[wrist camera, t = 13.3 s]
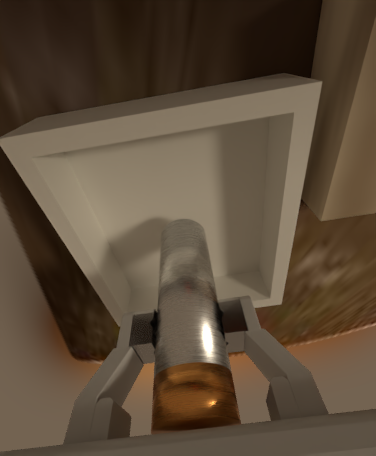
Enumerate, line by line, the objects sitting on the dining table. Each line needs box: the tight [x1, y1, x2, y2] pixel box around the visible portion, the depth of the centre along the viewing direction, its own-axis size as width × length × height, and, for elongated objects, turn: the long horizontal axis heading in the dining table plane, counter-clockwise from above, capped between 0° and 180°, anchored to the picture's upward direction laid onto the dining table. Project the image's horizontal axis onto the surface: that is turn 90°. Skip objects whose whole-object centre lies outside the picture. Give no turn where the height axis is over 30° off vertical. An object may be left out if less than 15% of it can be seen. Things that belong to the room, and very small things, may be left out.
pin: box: [151, 219, 241, 434], centre depth 12 cm, size 3×3×10 cm
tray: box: [0, 73, 322, 326], centre depth 16 cm, size 14×16×4 cm
